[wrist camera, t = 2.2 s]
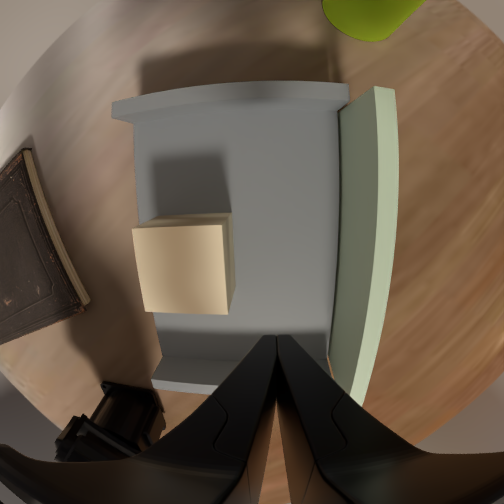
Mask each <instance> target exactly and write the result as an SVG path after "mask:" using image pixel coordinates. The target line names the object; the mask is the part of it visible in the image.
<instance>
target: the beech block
mask: <svg viewBox="0 0 504 504" xmlns="http://www.w3.org/2000/svg"><path fill="white" fill-rule="evenodd" d="M132 233H133V241H134V249H135V256H136V262H137V269H138V275H139V280H140V286H141V292H142V297H143V302H144V307H145V312H162V313H184V314H219V315H228V313H229V309H230V305H231V302H232V298H233V294H234V291H235V287H236V281H235V263H234V244H233V224H232V213H207V214H184V215H165V216H157V217H155V218H153V219H151V220H149V221H146V222H144V223H142V224H140V225H138V226H136V227H134V228H132Z"/></svg>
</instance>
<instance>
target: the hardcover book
mask: <svg viewBox="0 0 504 504" xmlns="http://www.w3.org/2000/svg"><path fill="white" fill-rule="evenodd" d="M31 150H32V148H23V149H21V151H20V152H19V153H18V154H17V155H16V156H15V157H14V158H13V159H12V160H11V161H10V163H9V164H8V165H7V166H6V167H5V168H4V170H3V171H2V172H1V173H0V345H2V344H4V343H7V342H9V341H12V340H14V339H17V338H19V337H22V336H24V335H27V334H29V333H32V332H34V331H37V330H40V329H42V328H45V327H47V326H50V325H52V324H55V323H57V322H60V321H63V320H65V319H68V318H70V317H73V316H75V315H78V314H80V313H83V312H85V311H87V310H86V308H85V305H86V304H88V303H89V301H91V300H90V298H89V296H88V294H87V292H86V290H85V289H84V287H83V285H82V283H81V281H80V279H79V277H78V275H77V273H76V271H75V269H74V267H73V265H72V263H71V260H70V258H69V256H68V254H67V252H66V250H65V247H64V245H63V243H62V240H61V238H60V236H59V233H58V231H57V228H56V226H55V223H54V221H53V218H52V216H51V213H50V210H49V208H48V205H47V202H46V199H45V196H44V194H43V191H42V188H41V184H40V181H39V178H38V175H37V172H36V168H35V165H34V161H33V157H32V154H31Z"/></svg>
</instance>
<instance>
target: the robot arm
mask: <svg viewBox="0 0 504 504" xmlns="http://www.w3.org/2000/svg"><path fill="white" fill-rule="evenodd" d="M101 388H102V390H103V392H104V394H105V395H104V397H103V398H102V400H101V402H100V403H99V405H98V406H97V408H96V409H95V411H94V413H93V414H92V416H91V417H90V419H89V418H87V416H86V415H84V414H82V416H81V417H77V416H73V417H72V419H71V420H70V422H69V423H68V425H67V426H66V427H65V429H64V430H63V431H62V433H61V434H60V435H59V437H58V438H57V439H56V441H55V446H56V449H57V450H56V454H57V455H56V457H55V459H54V460H56V461H57V462H47V461H41V460H35V459H33V458H30V457H27V456H25V455H23V454H21V453H19V452H18V451H16V450H15V449H13V448H11V447H10V446H9V445H6V444H1V443H0V481H1V482H2V483H3V484H4V485H5V486H6V487H7V488H8V489H9V490H11V491H12V492H13V493H14V494H15V495H16V496H18V497H19V498H20V499H22V500H23V501H24V502H25V503H27V504H258V502H259V497H260V492H261V487H262V482H263V477H264V472H265V466H266V461H267V455H268V450H269V444H270V438H271V432H272V426H273V420H274V413H275V406H276V403H277V411H278V418H279V424H280V431H281V438H282V445H283V451H284V458H285V465H286V472H287V479H288V485H289V492H290V499H291V504H504V452H496V453H479V454H436V453H429V452H426V451H423V450H421V449H418V448H416V447H415V446H413V445H412V444H410V443H409V442H407V441H406V440H404V439H403V438H401V437H400V436H399V435H397V434H396V433H394V432H393V431H392V430H390V429H389V428H388V427H386V426H385V425H383V424H382V423H381V422H379V421H378V420H377V419H376V418H374V417H373V416H372V415H371V414H369V413H368V412H367V411H366V410H364V409H363V408H362V407H361V406H360V405H359V404H358V403H357V402H356V401H355V400H354V399H353V398H352V397H351V396H350V395H349V394H348V393H346V392H345V390H344V389H343V388H342V387H341V386H340V385H339V384H338V383H337V382H336V381H335V380H334V379H333V378H332V377H331V376H330V375H329V374H328V373H327V372H326V371H325V370H324V369H323V368H322V367H321V366H320V365H319V364H318V363H317V362H316V361H315V360H314V359H313V358H312V357H311V356H310V355H309V354H308V353H307V352H306V351H305V349H304V348H303V347H302V346H301V345H300V344H299V343H298V342H297V341H296V340H295V339H294V338H293V337H292V336H291V335H290V334H279V335H277V337H276V335H262V336H261V338H260V339H259V340H258V341H257V342H256V344H255V345H254V346H253V347H252V348H251V349H250V351H249V352H248V353H247V354H246V355H245V356H244V358H243V359H242V360H241V361H240V362H239V363H238V365H237V366H236V367H235V368H234V369H233V370H232V371H231V372H230V374H229V375H228V376H227V377H226V378H225V379H224V380H223V381H222V383H221V384H220V385H219V386H218V387H217V388H216V389H215V390H214V391H213V393H212V394H211V395H210V396H209V397H208V398H207V399H206V400H205V401H204V402H203V403H202V404H201V405H200V406H199V407H198V408H197V409H196V410H195V411H194V412H193V413H192V414H191V415H190V416H188V417H187V418H186V419H185V420H184V421H183V422H181V423H180V424H179V425H178V426H176V427H175V428H174V429H172V430H171V431H170V432H169V433H167V434H166V435H165V436H163V437H162V438H161V439H159V438H160V435H161V432H162V430H165V428H166V424H165V420H164V417H163V414H162V412H161V409H160V407H159V406H158V403H157V400H156V397H155V394H154V392H153V391H151V390H148V389H142V388H136V387H130V386H125V385H120V384H115V383H110V382H105V381H103V382H102V383H101ZM77 435H78V436H77ZM0 504H4V503H3V502H1V501H0Z"/></svg>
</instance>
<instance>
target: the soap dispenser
mask: <svg viewBox="0 0 504 504" xmlns="http://www.w3.org/2000/svg"><path fill="white" fill-rule="evenodd" d="M425 1H426V0H323V2H322V6H323V11H324V13H325V15H326V17H327V18H328V20H329V21H330V22H331V23H332V24H333V25H334V26H335V27H336V28H337V29H339V30H340V31H341V32H343V33H345V34H346V35H348V36H350V37H353V38H355V39H358V40H362V41H369V42H375V41H381V40H384V39H386V38H387V37H389V36H390V35H391V34H392V33H393V32H394V31H395V30H396V29H397V28H398V27H399V26H400V25H401V24H402V23H403V22H404V21H405V20H406V19H407V18H408V17H409V16H410V15H411V14H412V13H413V12H414V11H415V10H416V9H417V8H418V7H419V6H421V5H422V4H423V3H424V2H425Z"/></svg>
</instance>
